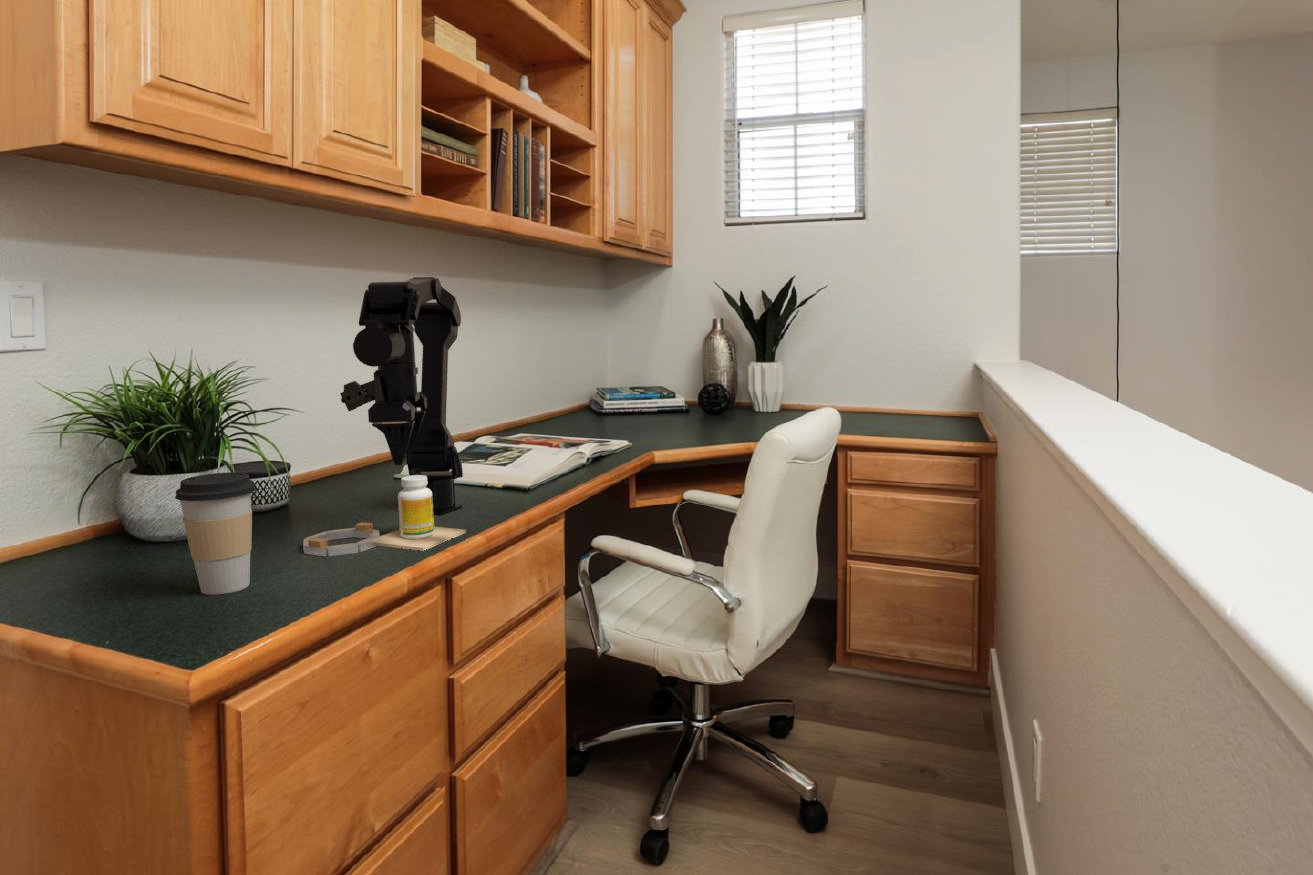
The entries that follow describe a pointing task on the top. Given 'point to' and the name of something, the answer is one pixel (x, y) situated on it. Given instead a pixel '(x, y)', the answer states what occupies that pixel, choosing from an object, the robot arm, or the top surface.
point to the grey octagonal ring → (319, 541)
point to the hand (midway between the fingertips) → (403, 459)
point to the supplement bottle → (415, 508)
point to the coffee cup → (219, 529)
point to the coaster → (419, 544)
